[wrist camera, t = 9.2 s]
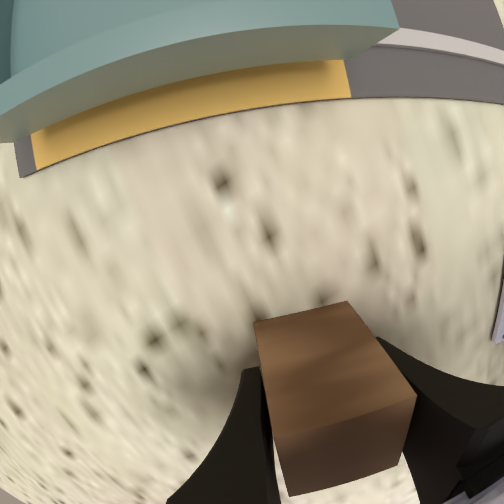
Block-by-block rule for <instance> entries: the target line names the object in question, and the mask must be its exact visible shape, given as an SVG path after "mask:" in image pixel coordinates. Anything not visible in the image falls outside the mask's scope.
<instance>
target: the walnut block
mask: <svg viewBox="0 0 504 504" xmlns="http://www.w3.org/2000/svg"><path fill="white" fill-rule="evenodd" d="M254 328H255V334H256V340H257V346H258V352H259V358H260V363H261V369H262V375H263V381H264V387H265V392H266V398H267V404H268V410H269V415H270V421H271V427H272V432H273V438H274V442H275V446H276V450H277V453H278V457H279V461H280V465H281V469H282V473H283V477H284V480H285V484H286V488H287V492H288V495H289V497H292V496H297V495H301V494H306V493H310V492H315V491H319V490H323V489H327V488H330V487H334V486H338V485H341V484H345V483H348V482H351V481H355V480H358V479H361V478H364V477H367V476H370V475H373V474H375V473H378V472H381V471H384V470H386V469H389V468H392V467H394V466H397V465H398V462H399V459H400V456H401V453H402V450H403V447H404V443H405V440H406V436H407V433H408V429H409V426H410V422H411V418H412V414H413V410H414V406H415V402H416V397H417V394H416V393H415V392H414V390H413V389H412V387H411V386H410V384H409V383H408V382H407V380H406V379H405V377H404V376H403V375H402V373H401V372H400V371H399V369H398V368H397V366H396V365H395V364H394V362H393V361H392V360H391V358H390V357H389V355H388V354H387V353H386V351H385V350H384V349H383V347H382V346H381V345H380V343H379V342H378V341H377V339H376V338H375V337H374V335H373V334H372V333H371V331H370V330H369V329H368V327H367V326H366V325H365V323H364V322H363V321H362V319H361V318H360V317H359V315H358V314H357V313H356V311H355V310H354V309H353V308H352V306H351V305H350V304H349V302H348V301H344V302H340V303H336V304H332V305H328V306H324V307H320V308H315V309H311V310H307V311H302V312H298V313H293V314H289V315H284V316H280V317H275V318H270V319H265V320H261V321H256V322H254Z"/></svg>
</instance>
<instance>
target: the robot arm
mask: <svg viewBox="0 0 504 504" xmlns="http://www.w3.org/2000/svg"><path fill="white" fill-rule="evenodd" d="M375 338H376V339H377V341H378V342H379V343H380V345H381V346H382V347H383V349H384V350H385V351H386V353H387V354H388V355H389V357H390V358H391V360H392V361H393V362H394V364H395V365H396V366H397V368H398V369H399V371H400V372H401V373H402V375H403V376H404V377H405V379H406V380H407V382H408V383H409V384H410V386H411V387H412V389H413V390H414V392H415V393H416V394H417V397H416V402H415V406H414V410H413V414H412V418H411V422H410V426H409V429H408V433H407V436H406V440H405V443H404V447H403V450H402V452H403V454H404V456H405V459H406V461H407V464H408V467H409V469H410V472H411V475H412V478H413V481H414V484H415V487H416V490H417V493H418V497H419V501H420V504H504V386H496V385H489V384H483V383H478V382H474V381H470V380H466V379H462V378H459V377H456V376H453V375H450V374H448V373H445V372H442V371H440V370H438V369H435V368H433V367H431V366H429V365H427V364H425V363H423V362H421V361H419V360H417V359H415V358H413V357H412V356H410V355H408V354H406V353H405V352H403V351H401V350H400V349H398V348H396V347H395V346H393V345H391V344H390V343H388V342H387V341H385V340H383V339H382V338H380V337H375ZM492 341H493V342H494V343H495V344H498V343H500V342H502V341H504V281H503V288H502V294H501V299H500V304H499V309H498V314H497V319H496V323H495V328H494V332H493V336H492ZM166 504H281V500H280V495H279V489H278V484H277V479H276V472H275V462H274V449H273V435H272V427H271V421H270V415H269V410H268V404H267V398H266V393H265V389H264V384H263V380H262V376H261V371H260V367H253V368H248V369H244V370H243V371H242V373H241V380H240V384H239V388H238V392H237V395H236V398H235V401H234V404H233V407H232V410H231V412H230V414H229V417H228V419H227V421H226V424H225V426H224V428H223V430H222V432H221V434H220V435H219V437H218V439H217V441H216V443H215V444H214V446H213V447H212V449H211V450H210V452H209V453H208V455H207V456H206V458H205V459H204V461H203V462H202V463H201V465H200V466H199V467H198V468H197V469H196V471H195V472H194V473H193V474H192V475H191V477H190V478H189V479H188V480H187V481H186V482H185V483H184V484H183V485H182V486H181V487H180V488H179V489H178V490H177V491H176V492H175V493H174V494H173V495H172V496H170V497H169V498H168V499H167V502H166Z"/></svg>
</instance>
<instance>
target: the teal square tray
mask: <svg viewBox="0 0 504 504" xmlns="http://www.w3.org/2000/svg"><path fill="white" fill-rule="evenodd" d="M399 29H400V27H399V24H398V21H397V18H396V15H395V12H394V9H393V6H392V3H391V0H0V143H14V142H17V141H19V140H21V139H23V138H25V137H27V136H29V135H31V134H33V133H35V132H37V131H39V130H41V129H44V128H46V127H48V126H50V125H52V124H54V123H57V122H59V121H61V120H64V119H66V118H68V117H71V116H73V115H75V114H78V113H80V112H83V111H85V110H88V109H91V108H93V107H96V106H99V105H101V104H104V103H107V102H110V101H113V100H116V99H119V98H122V97H125V96H128V95H131V94H134V93H137V92H141V91H144V90H148V89H151V88H155V87H158V86H162V85H166V84H169V83H173V82H177V81H182V80H186V79H190V78H195V77H199V76H204V75H209V74H214V73H219V72H225V71H230V70H236V69H243V68H249V67H256V66H264V65H272V64H281V63H292V62H305V61H322V60H352V59H353V58H355V57H356V56H358V55H359V54H361V53H362V52H364V51H365V50H367V49H368V48H370V47H372V46H373V45H375V44H376V43H378V42H380V41H381V40H383V39H384V38H386V37H388V36H389V35H391V34H393V33H394V32H396V31H398V30H399Z"/></svg>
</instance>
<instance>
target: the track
mask: <svg viewBox="0 0 504 504" xmlns="http://www.w3.org/2000/svg"><path fill="white" fill-rule="evenodd" d="M391 3H392V6H393V9H394V12H395V15H396V18H397V21H398V24H399V27H400V29H399V30H398V31H396V32H394V33H393V34H391V35H389V36H388V37H386V38H384V39H383V40H381V41H380V42H378V43H376V44H375V45H373V46H372V47H370V48H368V49H367V50H365V51H364V52H362V53H361V54H359V55H358V56H356V57H355V58H353V59H352V60H322V61H305V62H292V63H281V64H272V65H264V66H256V67H249V68H243V69H236V70H230V71H225V72H219V73H214V74H209V75H204V76H199V77H195V78H190V79H186V80H182V81H177V82H173V83H169V84H166V85H162V86H158V87H155V88H151V89H148V90H144V91H141V92H137V93H134V94H131V95H128V96H125V97H122V98H119V99H116V100H113V101H110V102H107V103H104V104H101V105H99V106H96V107H93V108H91V109H88V110H85V111H83V112H80V113H78V114H75V115H73V116H71V117H68V118H66V119H64V120H61V121H59V122H57V123H54V124H52V125H50V126H48V127H46V128H44V129H41V130H39V131H37V132H35V133H33V134H31V135H29V136H27V137H25V138H23V139H21V140H19V141H17V142H14V147H15V154H16V160H17V166H18V171H19V176H20V178H23V177H26V176H28V175H30V174H32V173H35V172H37V171H39V170H42V169H44V168H46V167H49V166H51V165H54V164H56V163H59V162H61V161H64V160H66V159H69V158H71V157H74V156H77V155H79V154H82V153H85V152H88V151H91V150H93V149H96V148H99V147H102V146H105V145H108V144H111V143H114V142H117V141H121V140H124V139H127V138H130V137H134V136H137V135H141V134H144V133H148V132H151V131H155V130H159V129H162V128H166V127H170V126H174V125H178V124H182V123H186V122H191V121H195V120H200V119H204V118H209V117H214V116H219V115H224V114H229V113H234V112H240V111H246V110H252V109H258V108H265V107H271V106H279V105H286V104H294V103H303V102H313V101H324V100H337V99H353V98H378V97H419V98H444V99H459V100H471V101H481V102H489V103H497V104H504V28H503V25H502V22H501V20H500V17H499V14H498V11H497V9H496V6H495V4H494V1H493V0H391Z"/></svg>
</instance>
